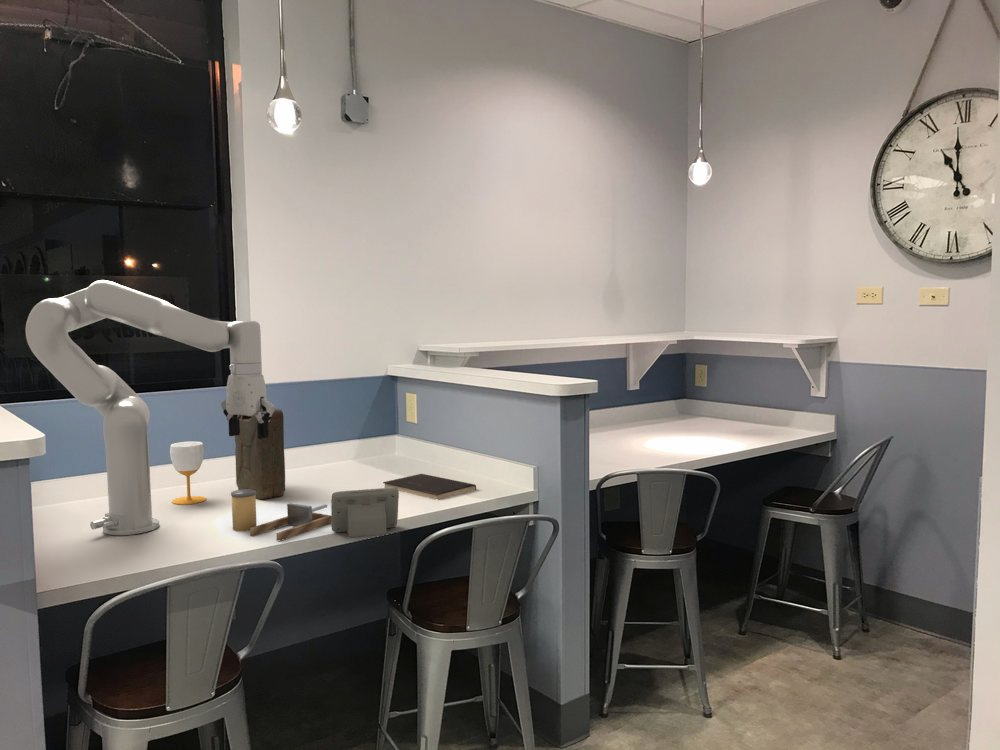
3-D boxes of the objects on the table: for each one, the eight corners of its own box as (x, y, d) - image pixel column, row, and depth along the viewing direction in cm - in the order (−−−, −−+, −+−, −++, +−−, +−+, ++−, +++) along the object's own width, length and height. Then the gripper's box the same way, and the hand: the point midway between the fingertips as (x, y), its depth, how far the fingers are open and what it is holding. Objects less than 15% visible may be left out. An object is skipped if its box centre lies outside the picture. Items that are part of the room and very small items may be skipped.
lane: (279, 541, 189) (279, 533, 189) (250, 535, 194) (249, 528, 193) (332, 522, 204) (332, 515, 204) (303, 517, 209) (303, 510, 209)
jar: (243, 532, 196) (242, 495, 195) (227, 529, 199) (225, 493, 198) (262, 526, 201) (260, 490, 200) (245, 523, 204) (244, 488, 203)
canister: (288, 496, 232) (285, 409, 230) (260, 501, 226) (257, 412, 224) (260, 485, 246) (257, 403, 244) (233, 490, 241) (230, 406, 238)
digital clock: (399, 525, 201) (399, 483, 200) (398, 536, 192) (397, 492, 191) (333, 527, 200) (332, 485, 199) (329, 538, 191) (327, 494, 190)
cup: (191, 505, 222) (189, 447, 221) (164, 503, 225) (161, 446, 224) (213, 498, 231) (211, 442, 229) (186, 495, 234) (184, 440, 232)
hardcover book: (436, 502, 227) (436, 494, 227) (383, 489, 242) (383, 482, 242) (476, 491, 239) (476, 484, 238) (423, 480, 254) (422, 473, 254)
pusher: (308, 527, 199) (308, 507, 198) (287, 523, 202) (287, 504, 202) (337, 517, 208) (336, 498, 207) (316, 514, 211) (315, 495, 211)
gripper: (209, 369, 206) (212, 436, 208) (261, 372, 198) (263, 441, 200) (232, 367, 213) (234, 432, 215) (282, 369, 205) (285, 437, 207)
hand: (248, 436), depth 207 cm, fingers open, 9 cm apart
